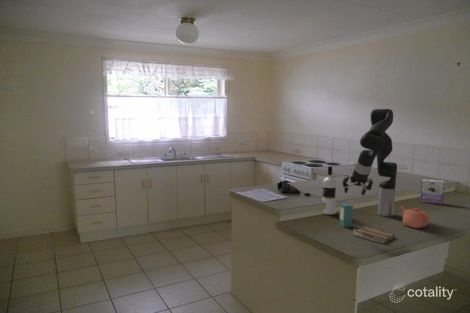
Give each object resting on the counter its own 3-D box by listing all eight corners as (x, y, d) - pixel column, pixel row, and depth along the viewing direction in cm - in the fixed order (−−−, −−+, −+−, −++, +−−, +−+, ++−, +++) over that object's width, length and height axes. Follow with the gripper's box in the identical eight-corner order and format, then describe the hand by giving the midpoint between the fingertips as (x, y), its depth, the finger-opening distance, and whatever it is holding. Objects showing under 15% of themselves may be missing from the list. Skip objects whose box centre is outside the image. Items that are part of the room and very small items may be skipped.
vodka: (334, 215, 213) (336, 168, 209) (319, 214, 217) (321, 167, 213) (336, 212, 221) (338, 166, 217) (322, 210, 225) (323, 165, 221)
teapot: (422, 231, 185) (424, 213, 184) (392, 222, 200) (394, 205, 199) (435, 228, 190) (436, 210, 189) (405, 219, 206) (406, 202, 205)
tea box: (347, 223, 198) (348, 203, 196) (351, 226, 193) (352, 205, 192) (339, 224, 197) (339, 203, 195) (343, 227, 192) (344, 206, 190)
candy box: (442, 203, 245) (444, 180, 243) (442, 205, 240) (444, 182, 238) (420, 200, 252) (422, 178, 250) (420, 202, 247) (421, 179, 245)
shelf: (364, 229, 188) (365, 224, 187) (394, 237, 176) (394, 231, 175) (352, 235, 179) (353, 229, 178) (383, 243, 167) (383, 237, 167)
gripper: (375, 166, 175) (366, 190, 185) (347, 163, 176) (339, 186, 186) (378, 176, 169) (368, 199, 179) (349, 172, 170) (341, 196, 180)
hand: (353, 193), depth 182 cm, fingers open, 8 cm apart
